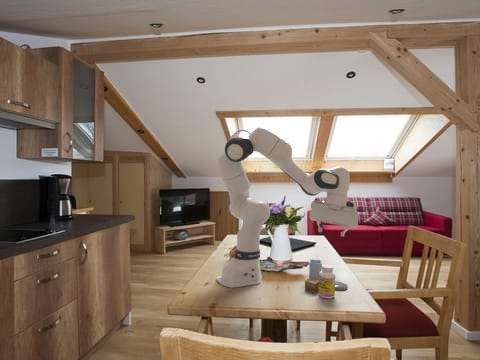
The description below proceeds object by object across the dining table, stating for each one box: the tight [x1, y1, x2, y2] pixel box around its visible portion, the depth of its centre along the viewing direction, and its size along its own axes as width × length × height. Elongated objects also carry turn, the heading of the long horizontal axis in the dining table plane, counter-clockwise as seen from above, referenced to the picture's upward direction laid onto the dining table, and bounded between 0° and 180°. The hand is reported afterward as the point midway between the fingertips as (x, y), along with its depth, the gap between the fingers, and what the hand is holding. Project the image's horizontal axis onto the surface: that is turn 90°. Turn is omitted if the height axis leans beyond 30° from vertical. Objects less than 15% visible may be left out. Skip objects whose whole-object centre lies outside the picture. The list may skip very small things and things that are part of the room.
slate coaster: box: [335, 280, 349, 292], centre depth 140 cm, size 10×10×1 cm
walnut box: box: [304, 278, 319, 293], centre depth 136 cm, size 5×5×4 cm
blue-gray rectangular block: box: [308, 259, 323, 280], centre depth 145 cm, size 6×6×10 cm
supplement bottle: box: [318, 264, 336, 300], centre depth 129 cm, size 7×7×13 cm
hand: (330, 233), depth 130 cm, fingers open, 8 cm apart
